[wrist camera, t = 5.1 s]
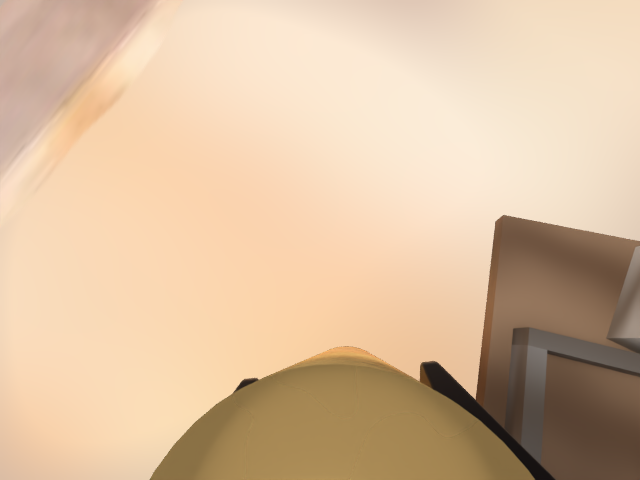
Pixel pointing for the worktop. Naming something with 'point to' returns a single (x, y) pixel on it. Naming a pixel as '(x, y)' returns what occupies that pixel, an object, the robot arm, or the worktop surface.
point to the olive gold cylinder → (339, 429)
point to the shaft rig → (564, 348)
